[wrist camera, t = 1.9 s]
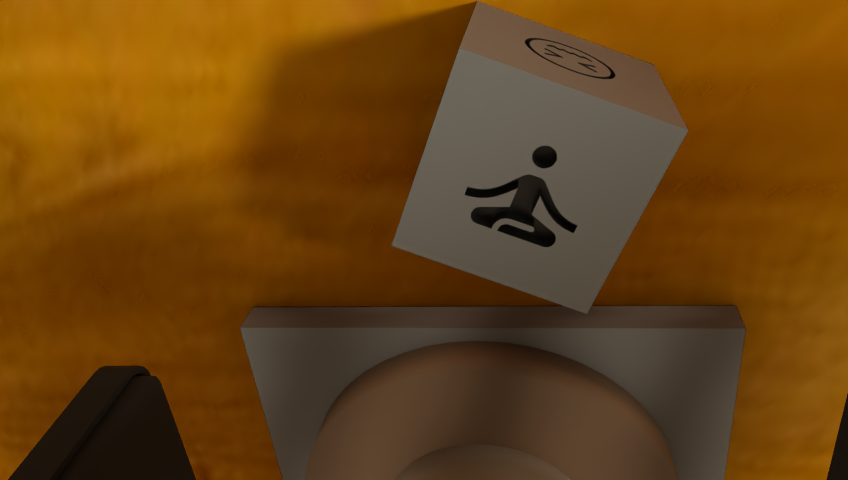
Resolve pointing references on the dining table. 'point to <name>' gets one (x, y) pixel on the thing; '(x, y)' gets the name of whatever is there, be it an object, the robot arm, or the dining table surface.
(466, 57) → the dice cube
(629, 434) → the bobbin
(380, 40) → the dining table surface
